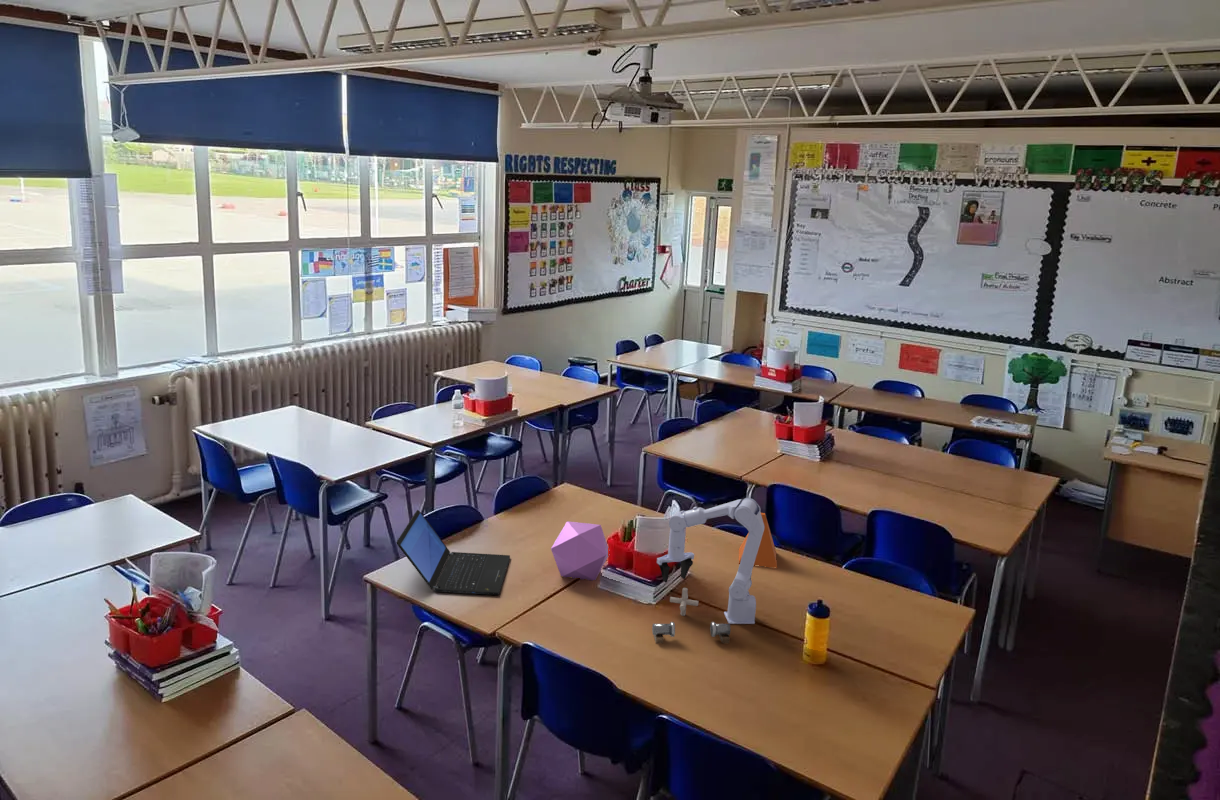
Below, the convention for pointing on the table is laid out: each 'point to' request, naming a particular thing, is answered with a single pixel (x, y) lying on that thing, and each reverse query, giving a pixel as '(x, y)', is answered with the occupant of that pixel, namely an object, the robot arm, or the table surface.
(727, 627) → the shaft
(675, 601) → the pipe connector
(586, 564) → the icosahedron
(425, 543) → the laptop
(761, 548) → the pyramid
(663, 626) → the grey metal fitting
